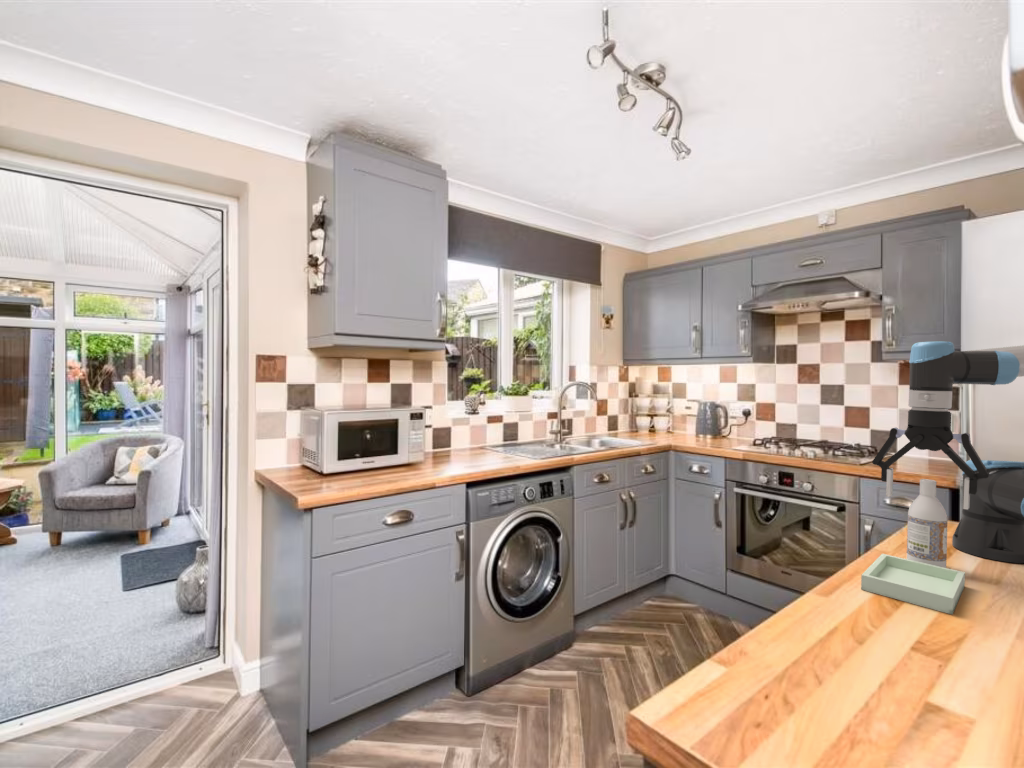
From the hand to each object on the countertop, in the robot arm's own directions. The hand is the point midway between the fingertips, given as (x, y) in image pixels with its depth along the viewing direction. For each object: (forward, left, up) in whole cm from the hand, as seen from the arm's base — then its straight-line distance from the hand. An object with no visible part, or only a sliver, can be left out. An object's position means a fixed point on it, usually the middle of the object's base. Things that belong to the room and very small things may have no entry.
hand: (926, 501), depth 112 cm
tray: (+14, +9, -15) cm, 22 cm away
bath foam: (0, 0, -15) cm, 15 cm away
